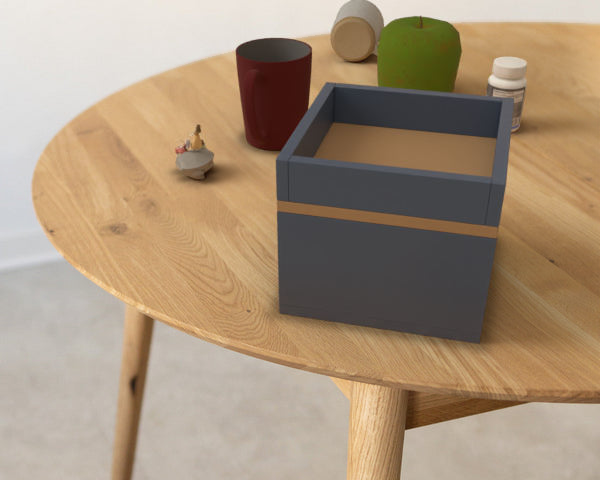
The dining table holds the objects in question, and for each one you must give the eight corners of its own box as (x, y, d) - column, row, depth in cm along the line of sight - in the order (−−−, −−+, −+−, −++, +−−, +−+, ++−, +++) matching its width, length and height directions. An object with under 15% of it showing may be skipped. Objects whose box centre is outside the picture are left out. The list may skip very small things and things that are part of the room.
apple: (373, 108, 105) (377, 26, 98) (376, 80, 113) (380, 2, 107) (457, 112, 103) (467, 29, 97) (454, 83, 112) (463, 5, 106)
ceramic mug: (327, 62, 119) (329, 11, 115) (335, 46, 126) (337, -4, 121) (397, 67, 118) (401, 15, 113) (401, 50, 124) (405, 0, 120)
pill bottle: (485, 117, 102) (494, 53, 97) (522, 122, 101) (533, 57, 96) (478, 130, 99) (487, 65, 94) (515, 136, 97) (527, 70, 92)
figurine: (204, 186, 86) (200, 135, 83) (168, 180, 88) (162, 130, 84) (222, 166, 91) (219, 117, 87) (188, 161, 92) (183, 112, 88)
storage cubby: (491, 239, 77) (514, 98, 69) (479, 344, 64) (506, 184, 55) (323, 218, 81) (326, 81, 72) (279, 313, 67) (275, 159, 59)
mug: (286, 169, 90) (284, 75, 83) (216, 157, 92) (210, 65, 86) (321, 129, 99) (322, 42, 93) (257, 120, 102) (254, 34, 95)
